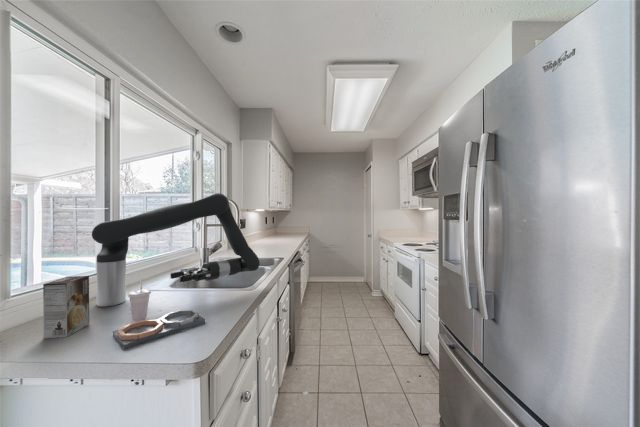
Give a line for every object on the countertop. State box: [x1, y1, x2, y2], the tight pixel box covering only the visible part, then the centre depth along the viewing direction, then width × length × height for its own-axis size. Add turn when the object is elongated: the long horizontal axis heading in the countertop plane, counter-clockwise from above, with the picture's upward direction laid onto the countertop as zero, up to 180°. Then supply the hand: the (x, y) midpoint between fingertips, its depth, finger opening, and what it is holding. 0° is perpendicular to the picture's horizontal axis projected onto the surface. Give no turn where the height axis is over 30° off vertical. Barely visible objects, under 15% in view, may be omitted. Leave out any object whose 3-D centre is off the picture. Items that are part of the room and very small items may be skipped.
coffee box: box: [42, 275, 90, 339], centre depth 80 cm, size 9×6×16 cm
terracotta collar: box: [117, 318, 163, 340], centre depth 77 cm, size 10×10×1 cm
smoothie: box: [127, 278, 152, 323], centre depth 88 cm, size 6×6×14 cm
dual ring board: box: [112, 314, 206, 351], centre depth 81 cm, size 12×22×2 cm, turn 140°
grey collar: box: [160, 309, 200, 326], centre depth 85 cm, size 10×10×1 cm
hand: (175, 277), depth 97 cm, fingers open, 8 cm apart
